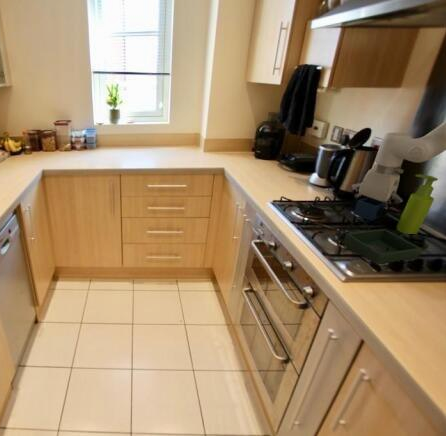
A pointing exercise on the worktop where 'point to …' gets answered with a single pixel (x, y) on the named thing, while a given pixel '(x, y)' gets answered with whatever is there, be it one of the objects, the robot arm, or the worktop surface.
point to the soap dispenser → (417, 207)
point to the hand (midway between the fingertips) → (368, 211)
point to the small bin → (368, 208)
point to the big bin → (383, 238)
